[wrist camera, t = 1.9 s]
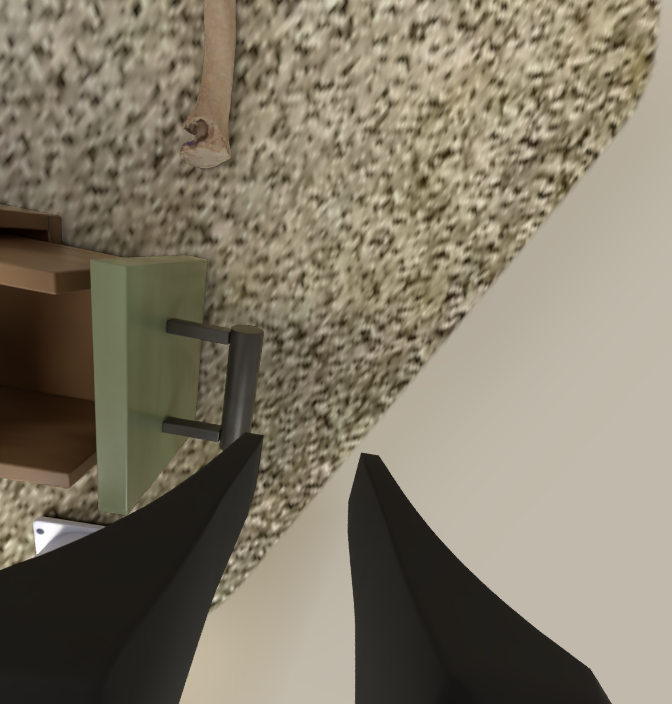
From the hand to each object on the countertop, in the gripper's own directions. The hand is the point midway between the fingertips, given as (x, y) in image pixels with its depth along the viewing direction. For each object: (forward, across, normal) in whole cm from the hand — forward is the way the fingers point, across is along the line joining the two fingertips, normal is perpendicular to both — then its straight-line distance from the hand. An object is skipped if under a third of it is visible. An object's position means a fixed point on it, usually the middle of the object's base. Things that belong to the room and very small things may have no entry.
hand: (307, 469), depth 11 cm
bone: (+10, +8, -15) cm, 20 cm away
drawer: (+9, +11, 0) cm, 14 cm away
